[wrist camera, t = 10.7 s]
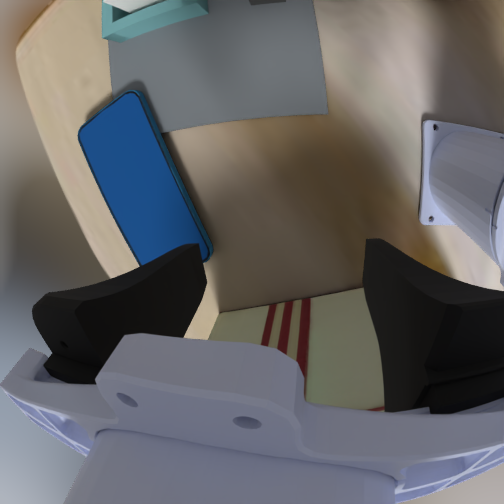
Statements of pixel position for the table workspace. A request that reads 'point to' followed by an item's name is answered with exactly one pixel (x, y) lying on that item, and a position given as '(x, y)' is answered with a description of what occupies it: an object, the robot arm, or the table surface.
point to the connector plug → (132, 4)
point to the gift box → (318, 345)
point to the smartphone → (140, 180)
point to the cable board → (217, 59)
